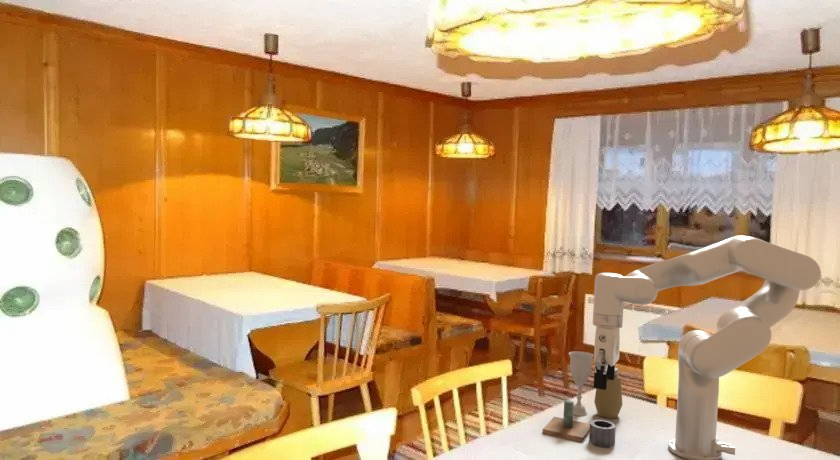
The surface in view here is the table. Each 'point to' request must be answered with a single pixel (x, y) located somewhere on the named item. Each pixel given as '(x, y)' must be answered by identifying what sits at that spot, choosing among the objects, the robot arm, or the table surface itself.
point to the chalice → (580, 376)
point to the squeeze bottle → (609, 398)
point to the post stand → (567, 425)
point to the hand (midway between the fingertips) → (604, 383)
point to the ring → (602, 433)
